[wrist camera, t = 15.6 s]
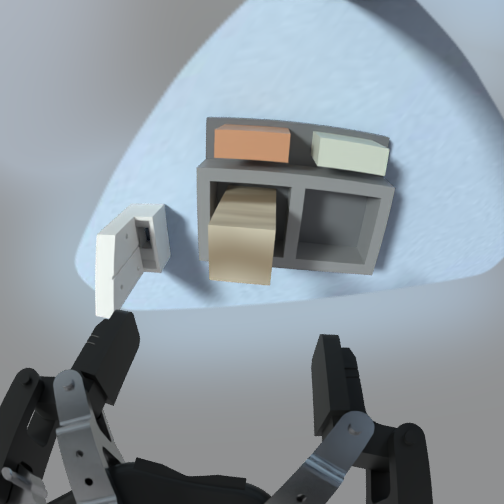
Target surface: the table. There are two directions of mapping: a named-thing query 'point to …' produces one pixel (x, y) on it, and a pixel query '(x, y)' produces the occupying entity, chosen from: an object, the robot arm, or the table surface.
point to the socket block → (303, 188)
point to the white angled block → (129, 254)
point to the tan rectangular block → (243, 235)
